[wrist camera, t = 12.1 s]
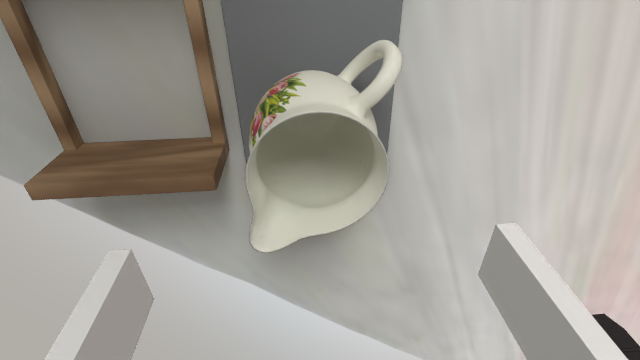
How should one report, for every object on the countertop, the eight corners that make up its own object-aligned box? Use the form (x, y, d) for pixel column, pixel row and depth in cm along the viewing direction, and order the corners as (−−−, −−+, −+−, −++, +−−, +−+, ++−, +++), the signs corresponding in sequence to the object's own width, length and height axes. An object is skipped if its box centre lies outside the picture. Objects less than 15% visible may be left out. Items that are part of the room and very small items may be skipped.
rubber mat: (218, -30, 29) (216, -30, 29) (403, -34, 30) (406, -34, 29) (253, 198, 42) (252, 202, 42) (381, 191, 43) (382, 194, 42)
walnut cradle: (-60, -141, 24) (-191, -177, 18) (175, -143, 25) (134, -178, 19) (78, 156, 38) (32, 200, 31) (229, 149, 38) (216, 190, 32)
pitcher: (415, 63, 34) (478, 120, 22) (305, 186, 41) (311, 276, 30) (329, -15, 30) (353, 6, 18) (223, 137, 37) (193, 221, 25)
